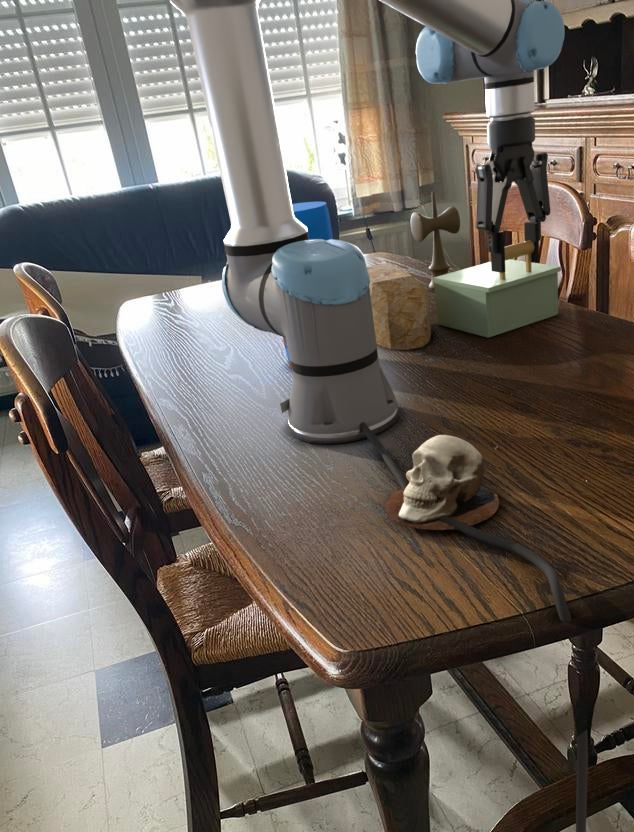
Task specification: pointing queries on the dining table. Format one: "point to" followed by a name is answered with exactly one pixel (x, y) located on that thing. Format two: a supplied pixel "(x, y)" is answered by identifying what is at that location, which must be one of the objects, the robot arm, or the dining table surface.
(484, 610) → the dining table surface
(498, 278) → the chest lid
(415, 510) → the skull
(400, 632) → the dining table surface
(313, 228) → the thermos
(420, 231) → the kendama
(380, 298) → the bread
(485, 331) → the chest
